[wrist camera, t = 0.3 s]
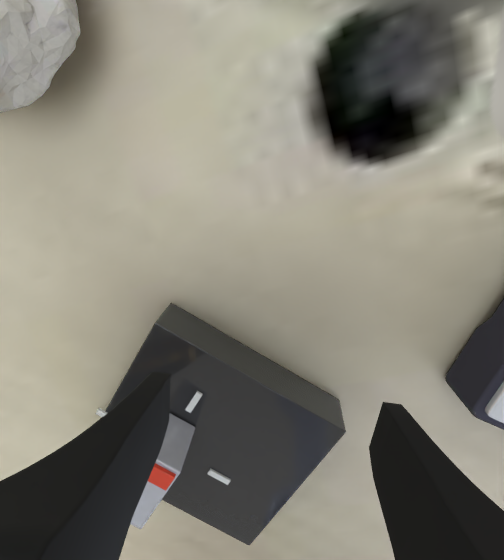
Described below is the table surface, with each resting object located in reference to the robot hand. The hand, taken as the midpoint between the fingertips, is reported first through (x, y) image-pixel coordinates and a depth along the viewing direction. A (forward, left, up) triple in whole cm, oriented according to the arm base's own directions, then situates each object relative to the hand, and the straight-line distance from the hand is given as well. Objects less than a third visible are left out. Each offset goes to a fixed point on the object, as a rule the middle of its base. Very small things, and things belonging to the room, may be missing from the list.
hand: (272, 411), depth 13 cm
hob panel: (-9, -1, -10) cm, 13 cm away
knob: (-10, +1, -7) cm, 13 cm away
